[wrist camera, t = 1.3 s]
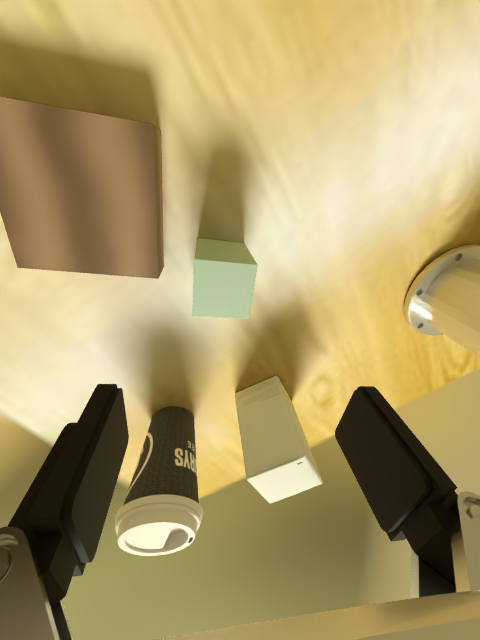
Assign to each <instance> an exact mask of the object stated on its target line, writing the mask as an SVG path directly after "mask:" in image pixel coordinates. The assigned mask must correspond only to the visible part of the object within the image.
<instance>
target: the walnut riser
mask: <svg viewBox="0 0 480 640" xmlns="http://www.w3.org/2000/svg"><path fill="white" fill-rule="evenodd" d="M0 213H1V216H2V219H3V222H4V225H5V229H6V232H7V235H8V238H9V241H10V244H11V248H12V251H13V254H14V257H15V260H16V264H17V267H18V268H29V269H42V270H55V271H67V272H80V273H93V274H106V275H119V276H131V277H144V278H157V279H158V278H159V276H160V274H161V272H162V270H163V268H164V259H163V210H162V160H161V132H160V131H159V130H158V129H157V127H156V126H155V125H154V124H150V123H144V122H139V121H133V120H128V119H122V118H117V117H111V116H105V115H100V114H94V113H89V112H83V111H78V110H72V109H66V108H61V107H55V106H50V105H44V104H39V103H33V102H27V101H22V100H16V99H11V98H5V97H0Z"/></svg>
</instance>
